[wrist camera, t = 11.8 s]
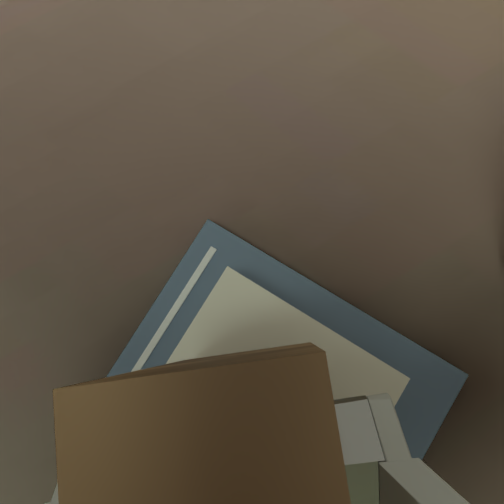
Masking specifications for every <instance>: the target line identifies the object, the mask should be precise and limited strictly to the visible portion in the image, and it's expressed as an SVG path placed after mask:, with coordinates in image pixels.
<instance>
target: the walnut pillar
mask: <svg viewBox="0 0 504 504" xmlns="http://www.w3.org/2000/svg"><path fill="white" fill-rule="evenodd" d="M53 406H54V425H55V444H56V463H57V482H58V501H59V504H351V501H350V495H349V489H348V483H347V477H346V471H345V465H344V459H343V453H342V447H341V441H340V435H339V429H338V423H337V417H336V411H335V405H334V399H333V393H332V387H331V381H330V375H329V369H328V363H327V357H326V351H324V350H322V349H321V348H319V347H317V346H316V345H314V344H313V343H311V342H308V343H301V344H294V345H287V346H280V347H273V348H266V349H259V350H251V351H244V352H237V353H230V354H223V355H216V356H209V357H202V358H195V359H187V360H182V361H178V362H173V363H169V364H164V365H160V366H155V367H151V368H146V369H142V370H137V371H133V372H128V373H124V374H119V375H115V376H110V377H106V378H102V379H97V380H93V381H88V382H84V383H79V384H75V385H70V386H66V387H61V388H57V389H53Z"/></svg>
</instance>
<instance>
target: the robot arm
mask: <svg viewBox="0 0 504 504" xmlns="http://www.w3.org/2000/svg"><path fill="white" fill-rule="evenodd" d="M334 405H335V411H336V417H337V423H338V429H339V435H340V441H341V447H342V453H343V459H344V465H345V471H346V477H347V483H348V489H349V495H350V501H351V504H470V503H469V502H468V501H467V500H465V499H464V498H463V497H462V496H461V495H460V494H459V493H458V492H456V491H455V490H454V489H453V488H452V487H451V486H450V485H449V484H447V483H446V482H445V481H444V480H443V479H442V478H441V477H440V476H439V475H437V474H436V473H435V472H434V471H433V470H432V469H431V468H430V467H428V466H427V465H426V464H425V463H424V462H423V461H422V460H421V459H420V458H412V457H411V454H410V451H409V448H408V445H407V443H406V440H405V437H404V434H403V431H402V428H401V425H400V422H399V419H398V416H397V414H396V411H395V408H394V405H393V402H392V399H391V397H390V395H389V394H388V393H382V394H375V395H369V396H365V395H363V396H357V397H350V398H343V399H336V400H334ZM44 504H59V501H58V482H57V485H56V487H55V490H54V493H53V496H52V499H51V502H46V503H44Z"/></svg>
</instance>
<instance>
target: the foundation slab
mask: <svg viewBox="0 0 504 504" xmlns="http://www.w3.org/2000/svg"><path fill="white" fill-rule="evenodd" d="M308 342H311V343H313V344H314V345H316V346H317V347H319V348H321V349H322V350H324V351H326V357H327V363H328V369H329V375H330V381H331V387H332V393H333V399H334V400H336V399H343V398H350V397H357V396H363V395H365V396H369V395H375V394H382V393H388V394H389V395H390V397H391V399H392V402H393V405H394V407H395V405H396V403H397V401H398V400H399V398H400V396H401V394H402V393H403V391H404V389H405V387H406V385H407V384H408V382H409V380H410V378H409V377H407V376H406V375H404V374H402V373H401V372H399V371H397V370H396V369H394V368H392V367H391V366H389V365H388V364H386V363H384V362H383V361H381V360H379V359H378V358H376V357H375V356H373V355H371V354H370V353H368V352H366V351H365V350H363V349H362V348H360V347H358V346H357V345H355V344H353V343H352V342H350V341H349V340H347V339H345V338H344V337H342V336H340V335H339V334H337V333H336V332H334V331H332V330H331V329H329V328H327V327H326V326H324V325H322V324H321V323H319V322H318V321H316V320H314V319H313V318H311V317H309V316H308V315H306V314H305V313H303V312H301V311H300V310H298V309H296V308H295V307H293V306H292V305H290V304H288V303H287V302H285V301H283V300H282V299H280V298H279V297H277V296H275V295H274V294H272V293H270V292H269V291H267V290H265V289H264V288H262V287H261V286H259V285H257V284H256V283H254V282H252V281H251V280H249V279H248V278H246V277H244V276H243V275H241V274H239V273H238V272H236V271H235V270H233V269H231V268H230V267H228V266H227V267H226V269H225V271H224V272H223V274H222V275H221V277H220V278H219V280H218V282H217V283H216V285H215V286H214V288H213V290H212V291H211V293H210V294H209V296H208V297H207V299H206V301H205V302H204V304H203V305H202V307H201V309H200V310H199V312H198V313H197V315H196V317H195V318H194V320H193V321H192V323H191V324H190V326H189V328H188V329H187V331H186V332H185V334H184V336H183V337H182V339H181V340H180V342H179V344H178V345H177V347H176V348H175V350H174V351H173V353H172V355H171V356H170V358H169V359H168V361H167V363H166V364H169V363H173V362H178V361H182V360H187V359H195V358H202V357H209V356H216V355H223V354H230V353H237V352H244V351H251V350H259V349H266V348H273V347H280V346H287V345H294V344H301V343H308Z"/></svg>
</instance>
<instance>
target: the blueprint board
mask: <svg viewBox="0 0 504 504" xmlns="http://www.w3.org/2000/svg"><path fill="white" fill-rule="evenodd" d="M227 266H228V267H230V268H231V269H233V270H235V271H236V272H238V273H239V274H241V275H243V276H244V277H246V278H248V279H249V280H251V281H252V282H254V283H256V284H257V285H259V286H261V287H262V288H264V289H265V290H267V291H269V292H270V293H272V294H274V295H275V296H277V297H279V298H280V299H282V300H283V301H285V302H287V303H288V304H290V305H292V306H293V307H295V308H296V309H298V310H300V311H301V312H303V313H305V314H306V315H308V316H309V317H311V318H313V319H314V320H316V321H318V322H319V323H321V324H322V325H324V326H326V327H327V328H329V329H331V330H332V331H334V332H336V333H337V334H339V335H340V336H342V337H344V338H345V339H347V340H349V341H350V342H352V343H353V344H355V345H357V346H358V347H360V348H362V349H363V350H365V351H366V352H368V353H370V354H371V355H373V356H375V357H376V358H378V359H379V360H381V361H383V362H384V363H386V364H388V365H389V366H391V367H392V368H394V369H396V370H397V371H399V372H401V373H402V374H404V375H406V376H407V377H409V378H410V380H409V382H408V384H407V385H406V387H405V389H404V391H403V393H402V394H401V396H400V398H399V400H398V401H397V403H396V405H395V407H394V408H395V411H396V414H397V416H398V419H399V422H400V425H401V428H402V431H403V434H404V437H405V440H406V443H407V445H408V448H409V451H410V454H411V457H412V458H420V459H421V460H422V459H423V457H424V455H425V453H426V451H427V450H428V448H429V446H430V444H431V442H432V441H433V439H434V437H435V435H436V433H437V431H438V430H439V428H440V426H441V424H442V422H443V421H444V419H445V417H446V415H447V413H448V411H449V410H450V408H451V406H452V404H453V402H454V401H455V399H456V397H457V395H458V393H459V392H460V390H461V388H462V386H463V384H464V382H465V381H466V379H467V377H468V374H466V373H465V372H463V371H461V370H460V369H458V368H456V367H455V366H453V365H451V364H450V363H448V362H446V361H445V360H443V359H441V358H440V357H438V356H436V355H435V354H433V353H431V352H430V351H428V350H426V349H425V348H423V347H421V346H420V345H418V344H416V343H415V342H413V341H411V340H410V339H408V338H406V337H405V336H403V335H401V334H399V333H398V332H396V331H394V330H393V329H391V328H389V327H388V326H386V325H384V324H383V323H381V322H379V321H378V320H376V319H374V318H373V317H371V316H369V315H368V314H366V313H364V312H363V311H361V310H359V309H358V308H356V307H354V306H353V305H351V304H349V303H348V302H346V301H344V300H343V299H341V298H339V297H338V296H336V295H334V294H333V293H331V292H329V291H328V290H326V289H324V288H322V287H321V286H319V285H317V284H316V283H314V282H312V281H311V280H309V279H307V278H306V277H304V276H302V275H301V274H299V273H297V272H296V271H294V270H292V269H291V268H289V267H287V266H286V265H284V264H282V263H281V262H279V261H277V260H276V259H274V258H272V257H271V256H269V255H267V254H266V253H264V252H262V251H261V250H259V249H257V248H256V247H254V246H252V245H251V244H249V243H247V242H245V241H244V240H242V239H240V238H239V237H237V236H235V235H234V234H232V233H230V232H229V231H227V230H225V229H224V228H222V227H220V226H219V225H217V224H215V223H214V222H212V221H210V220H209V219H208V220H207V221H206V223H205V224H204V226H203V227H202V229H201V230H200V232H199V234H198V235H197V237H196V238H195V240H194V241H193V243H192V244H191V246H190V248H189V249H188V251H187V252H186V254H185V255H184V257H183V258H182V260H181V262H180V263H179V265H178V266H177V268H176V269H175V271H174V272H173V274H172V276H171V277H170V279H169V280H168V282H167V283H166V285H165V286H164V288H163V290H162V291H161V293H160V294H159V296H158V297H157V299H156V300H155V302H154V304H153V305H152V307H151V308H150V310H149V311H148V313H147V314H146V316H145V318H144V319H143V321H142V322H141V324H140V325H139V327H138V328H137V330H136V332H135V333H134V335H133V336H132V338H131V339H130V341H129V342H128V344H127V346H126V347H125V349H124V350H123V352H122V353H121V355H120V356H119V358H118V360H117V361H116V363H115V364H114V366H113V367H112V369H111V370H110V372H109V374H108V375H107V377H110V376H115V375H119V374H124V373H128V372H133V371H137V370H142V369H146V368H151V367H155V366H160V365H164V364H166V363H167V361H168V359H169V358H170V356H171V355H172V353H173V351H174V350H175V348H176V347H177V345H178V344H179V342H180V340H181V339H182V337H183V336H184V334H185V332H186V331H187V329H188V328H189V326H190V324H191V323H192V321H193V320H194V318H195V317H196V315H197V313H198V312H199V310H200V309H201V307H202V305H203V304H204V302H205V301H206V299H207V297H208V296H209V294H210V293H211V291H212V290H213V288H214V286H215V285H216V283H217V282H218V280H219V278H220V277H221V275H222V274H223V272H224V271H225V269H226V267H227Z"/></svg>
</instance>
